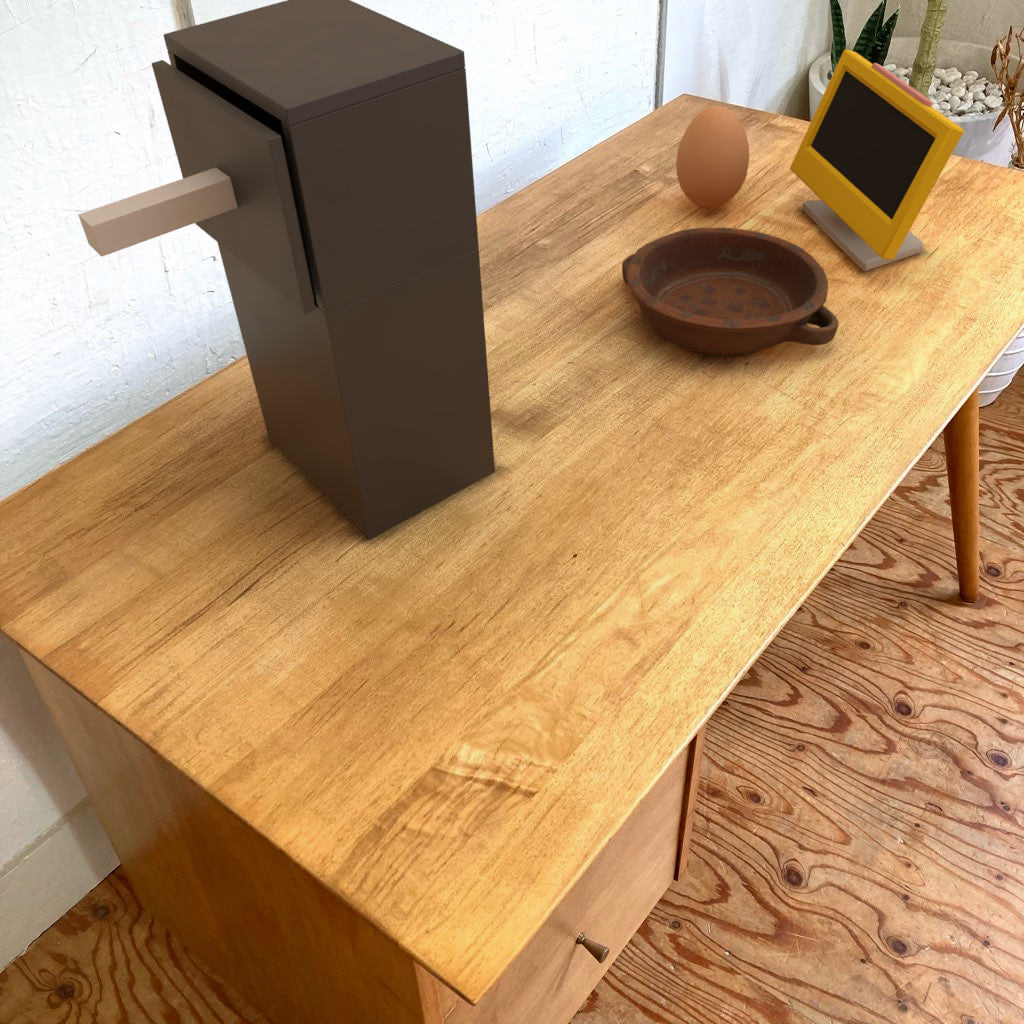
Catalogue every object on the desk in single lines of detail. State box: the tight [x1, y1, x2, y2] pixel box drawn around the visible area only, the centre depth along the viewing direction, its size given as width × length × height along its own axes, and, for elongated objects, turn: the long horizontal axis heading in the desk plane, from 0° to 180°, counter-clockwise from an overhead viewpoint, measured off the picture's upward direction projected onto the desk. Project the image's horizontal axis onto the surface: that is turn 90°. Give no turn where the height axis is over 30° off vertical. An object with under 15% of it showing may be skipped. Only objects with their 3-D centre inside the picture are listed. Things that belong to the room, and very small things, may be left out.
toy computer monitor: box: [789, 48, 964, 272], centre depth 104 cm, size 20×8×16 cm, turn 14°
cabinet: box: [163, 0, 496, 540], centre depth 75 cm, size 12×16×33 cm
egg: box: [675, 105, 750, 210], centre depth 111 cm, size 8×8×11 cm
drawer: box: [77, 59, 316, 314], centre depth 66 cm, size 21×16×11 cm
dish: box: [621, 227, 839, 356], centre depth 97 cm, size 18×22×5 cm
